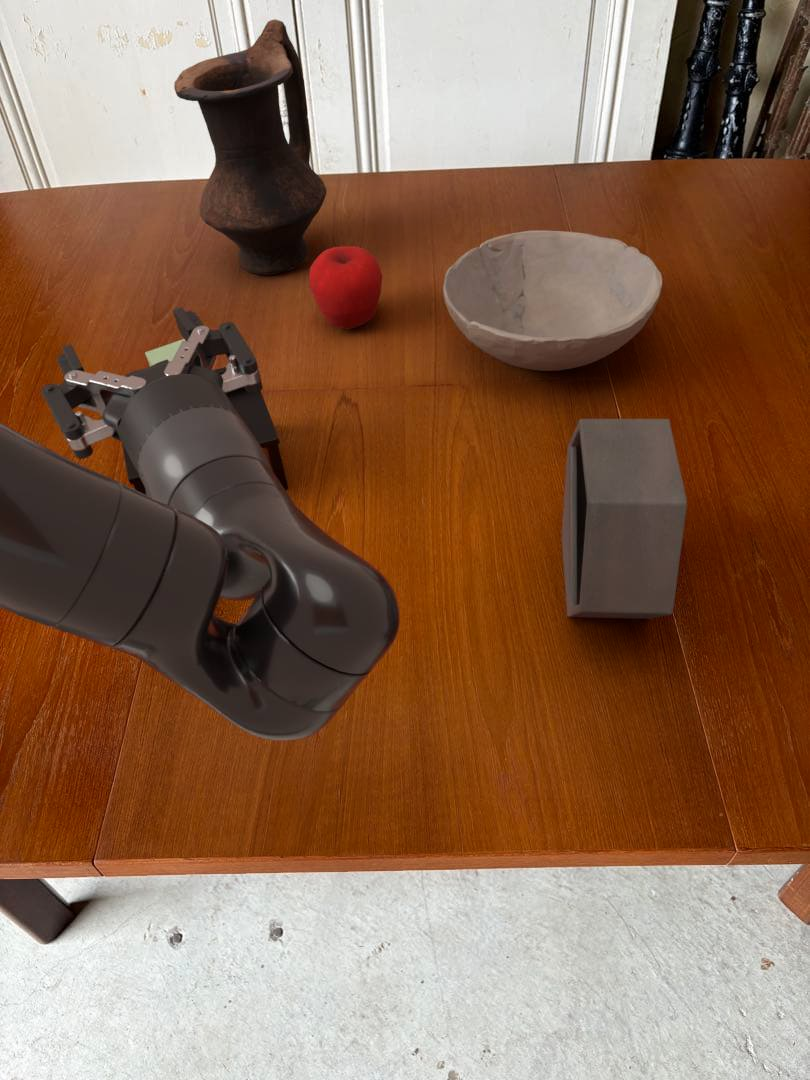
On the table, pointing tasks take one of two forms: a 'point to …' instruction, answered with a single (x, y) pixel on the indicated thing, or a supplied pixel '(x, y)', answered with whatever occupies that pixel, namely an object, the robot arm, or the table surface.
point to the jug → (257, 151)
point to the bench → (255, 419)
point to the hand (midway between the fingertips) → (126, 336)
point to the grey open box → (622, 519)
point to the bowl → (551, 297)
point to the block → (163, 353)
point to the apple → (346, 285)
